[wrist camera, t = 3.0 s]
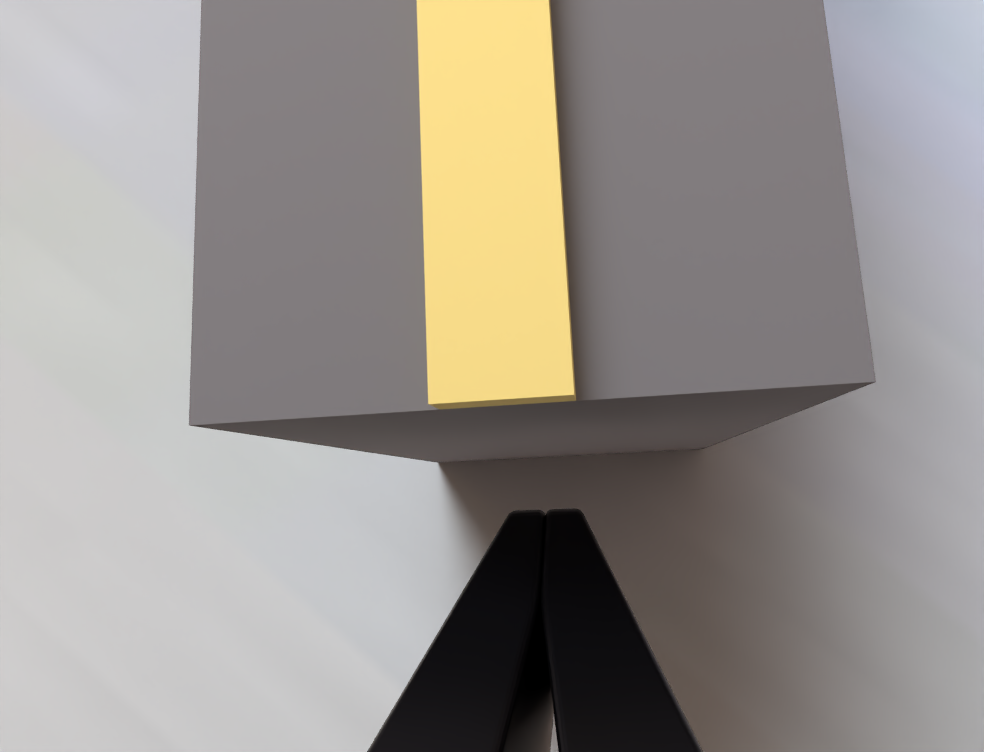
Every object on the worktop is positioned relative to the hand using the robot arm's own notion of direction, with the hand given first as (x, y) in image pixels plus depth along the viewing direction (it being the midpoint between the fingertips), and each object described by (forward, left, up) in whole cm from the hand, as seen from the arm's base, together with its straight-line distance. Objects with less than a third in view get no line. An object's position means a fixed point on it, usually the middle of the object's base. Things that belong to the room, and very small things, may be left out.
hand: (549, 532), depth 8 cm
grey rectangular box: (+8, 0, -7) cm, 11 cm away
